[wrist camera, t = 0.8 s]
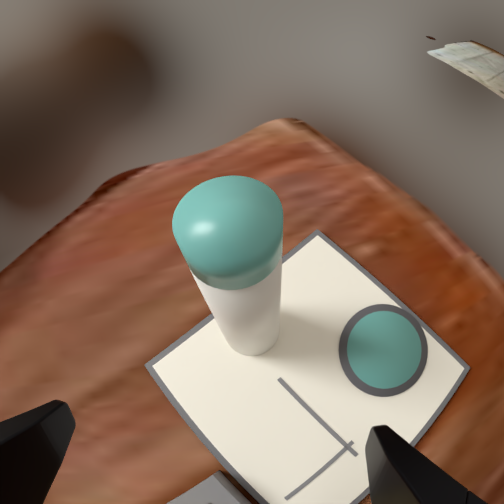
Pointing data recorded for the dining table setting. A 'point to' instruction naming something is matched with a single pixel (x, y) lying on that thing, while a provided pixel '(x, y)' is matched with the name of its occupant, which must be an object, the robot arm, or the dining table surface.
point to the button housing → (212, 492)
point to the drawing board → (312, 382)
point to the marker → (235, 257)
